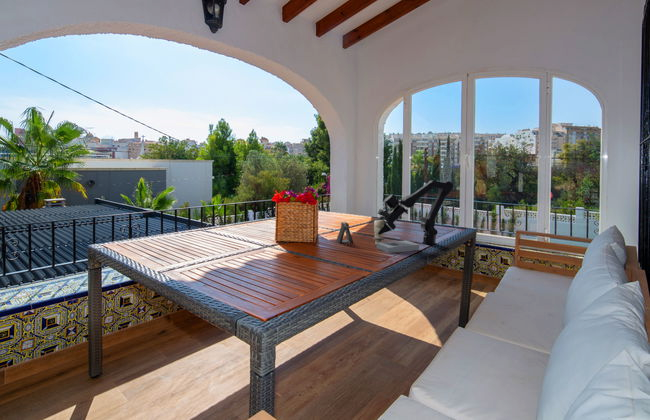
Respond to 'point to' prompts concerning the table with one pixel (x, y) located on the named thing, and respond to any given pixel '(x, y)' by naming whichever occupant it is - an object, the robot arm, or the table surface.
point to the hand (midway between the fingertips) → (376, 232)
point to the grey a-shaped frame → (341, 233)
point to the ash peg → (377, 227)
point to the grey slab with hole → (397, 246)
